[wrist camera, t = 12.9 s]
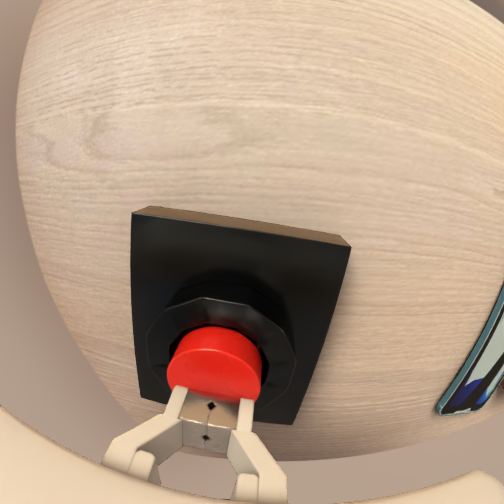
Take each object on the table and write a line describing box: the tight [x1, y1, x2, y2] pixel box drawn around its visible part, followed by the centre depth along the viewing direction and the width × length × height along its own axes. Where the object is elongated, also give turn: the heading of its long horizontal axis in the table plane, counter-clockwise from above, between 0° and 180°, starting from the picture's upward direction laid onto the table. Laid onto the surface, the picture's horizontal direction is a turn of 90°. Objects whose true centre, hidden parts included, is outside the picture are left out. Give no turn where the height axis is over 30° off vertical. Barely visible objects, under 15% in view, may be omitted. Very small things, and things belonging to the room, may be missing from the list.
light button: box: [167, 326, 262, 403], centre depth 12 cm, size 4×4×2 cm
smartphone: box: [436, 286, 504, 416], centre depth 15 cm, size 7×1×15 cm
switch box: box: [130, 206, 351, 425], centre depth 14 cm, size 12×10×4 cm
